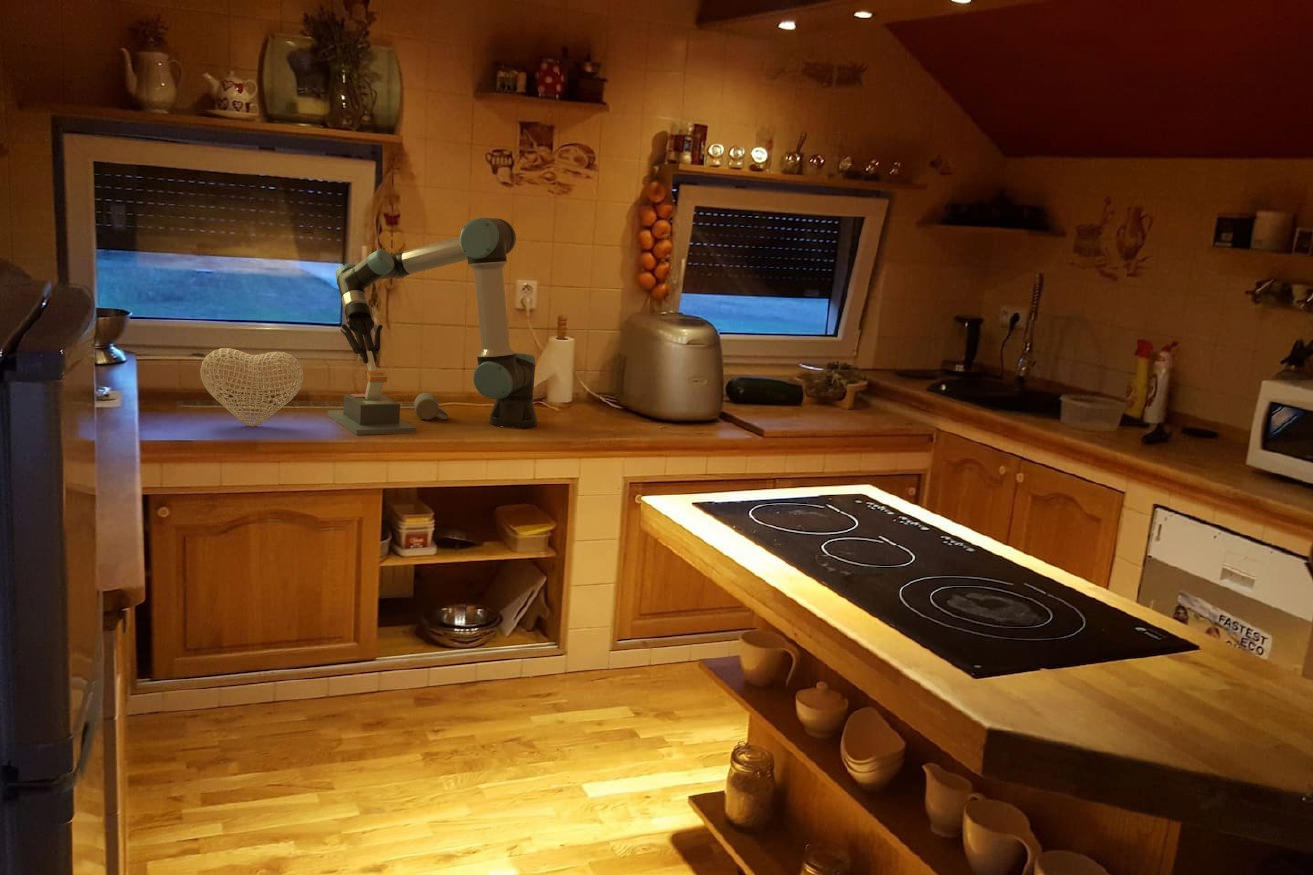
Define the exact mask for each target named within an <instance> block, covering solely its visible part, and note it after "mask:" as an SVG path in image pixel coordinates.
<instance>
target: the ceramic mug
mask: <svg viewBox="0 0 1313 875" xmlns="http://www.w3.org/2000/svg"><path fill="white" fill-rule="evenodd" d="M413 404H414V405H413V406H414V409H415V413H416V416H417V417H418V418H419V419H421V420H423V419H425V420H424V421H430V420H433V419H434V418H435V417H437V418H439V419H441V420H444V419H446V420H448V418H449V413H447V412H446V411H444V410H443V409H441V408H440V407H439V406H440V404H439V400H438V398H437V397H436V396H435V395H434V394H432V393H431V392H430V393H429V392H423V393H419V394H418V395H417V396H416V398H415V399H414V402H413Z"/></svg>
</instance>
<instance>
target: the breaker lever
mask: <svg viewBox="0 0 1313 875" xmlns="http://www.w3.org/2000/svg"><path fill="white" fill-rule="evenodd" d="M388 377H389V376H388V375H387V372H386V370H376V371H368V370H367V374H366V378H367V384H366V390H365V393H364V394H365V397H366V399H367V400H378V399H380V396H381V394H382V390H383V386H384V383H387V382H388Z"/></svg>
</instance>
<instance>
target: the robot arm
mask: <svg viewBox="0 0 1313 875" xmlns="http://www.w3.org/2000/svg"><path fill="white" fill-rule="evenodd" d="M516 236H517V235H516V231H515V229H514V227H513V225H512V224H510V223H509V221H506V220H504V219H502V218H491V217H479V218H474V219H471V220H469V221H468V222H467V223H465V224H464V226H463V227H462V228H461V231H460V233H459V236H457V237H453V238H449V239H445V240H441V241H437V242H434V243H431V244H427V245H423V246H419V247H415V248H413V249H408V250H404V251H400V252H396V253H392V254H390V253H389V252H388V251H386V250H384V249H381V248H380V249H377V250H375V251H374V252H371V253H370V254H368V255H367V256H366V257H365V258H364V259H362V260H361V261H359V262H358V263H357V264H354V263H345V264H344V265H340V266H338V267H337V269H336V270H335V280H336V285H337V288H338V292H339V295H340V298H341V303H342V306H343V311H344V315H345V319H346V323H343V324H342V325H341V326H340V329H339V331H340V332H341V333H342V334H343V335H344V337H345V338H346V339H347V341H348V344H349V345H350V348H351V350H352V352H354V354H355V355H358V354H359V356H360V358H362V362H363V364H366V366H367V372H368V371H377V365H376V363H377V355H378V354H379V352H380V350H381V335H382V334H381V331H382V329H383V325H382V324H379V325H378V324H376V323H375V321H374V319H373V318H372V313H371V310H370V306H369V302H368V299H367V295H366V290H365V289H366V288H368V287H370V286H372V285H373V284H374V283H376V282H377V281H379V280H387V279H388V280H389V279H402V278H404V277H407V276H410V275H413V274H417V273H420V272H421V273H422V272H425V271H429V270H432V269H436V268H440V267H444V266H447V265H451V264H455V263H459V262H464V261H467V264H468V267H470V268H471V269H472V270H473V273H474V274H473V275H474V286H475V294H476V295H475V298H476V305H477V306H476V307H477V315H478V316H477V318H478V330H479V338H480V339H479V340H480V347H481V348H480V351H479V352H478V353H477V356H476V358H477V359H476V360H477V367H476V369H475V370H474V372H473V377H472V378H473V385H474V388H475V389H476V390H477V392H478V393H479V394H481V396H482V397H485V398H487V399H490V400H495V401H494V404H493V406H492V409H491V412H490V414H489V421H488V422H489V424H491V425H493V424H495V425H494V426H496V425H499V426H498V427H500V426H503V427H502V428H507V427H514V428H513V429H525V428H524V427H530V428H533V427H532V426H534V427H536V426H537V425H536V424H538V416H537V412H536V410H535V404H534V388H535V387H534V386H535V385H534V384H535V376H536V373H535V372H536V371H535V370H536V367H537V366H536V357H535V356H534V355H533V354H530V353H529V354H528V353H521V352H515V350H513V349H512V348H511V347H510V338H509V336H510V335H509V326H508V324H509V323H508V315H507V314H508V313H507V305H506V304H507V302H506V294H505V292H506V291H505V281H504V272H503V268H504V266H505V265H506V264H508V263H507V262H508V260H507V255H508V254H509V253H511V252H512V251H513V249H514V248H515V245H516V242H517V238H516ZM372 330H373V331H374V332H373V333H374V340H373V337H372V334H371V332H372ZM353 333H354V334H353ZM373 341H374V342H373ZM535 425H536V426H535Z"/></svg>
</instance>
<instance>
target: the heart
mask: <svg viewBox="0 0 1313 875" xmlns="http://www.w3.org/2000/svg"><path fill="white" fill-rule="evenodd" d="M231 357H232V358H231ZM236 358H237V359H236ZM218 359H220V360H219V361H217V360H218ZM280 360H281V361H280ZM246 361H247V362H246ZM264 363H265V364H264ZM269 363H270V364H269ZM217 364H218V365H217ZM259 364H260V365H259ZM200 365H201V366H200V369H199V372H200V373H199V374H200V379H201V382H202V384H203V386H204V388H205V389H206V391H207V392H208V394H210V395H211V396H212V397H213V398H214V399H215V400H216V402H218V403H219V404H220V405H222V406H223V407H224V408H225V409H226V410H227V411H228V412H230V413H231V415H232V416H234V417H235V419H237V420H238V421H240V422H241V423H242V424H244V425H246V426H247V427H252V428H253V427H258V426H259V425H262V424H263V423H264V422H265V421H267V420H268V419H269V418H271V417H272V416H274V414H276V413H278V411H279V410H281V409H282V408H283V407H285V406H286V405H287V404H288V403H289V402H291V401H292V400H293V399H294V397H296V396H297V394H298V392H299V391H300V390H301V387H302V385H303V382H304V372H303V371H304V370H303V367H302V365H301V363H300V361H299V360H298V359H297V358H296V357H294V356H293V354H290V353H287V352H285V351H270V352H264V353H260V354H249V353H247V352H244V351H242V350H238V349H234V348H232V347H231V348H230V347H221V348H219V349H214V350H212V351H211V352H210V353H208V354H207V355H206V356H205V357H204V358H203V360H202V361H201V364H200ZM246 365H247V366H246ZM283 366H284V367H283ZM269 367H270V369H269ZM274 367H275V368H274ZM219 370H220V371H219ZM230 372H231V373H230ZM235 373H236V374H235ZM217 376H218V378H216V377H217ZM289 376H290V377H291V378H290V377H289ZM244 377H245V378H244ZM285 377H286V379H285ZM228 379H229V380H228ZM272 379H273V381H272ZM233 380H234V382H233ZM238 381H240V383H239V382H238ZM290 381H291V382H290ZM243 382H245V383H243ZM226 383H228V385H227V384H226ZM248 383H250V384H248ZM280 383H281V384H280ZM285 383H286V384H285ZM231 385H233V387H231ZM236 386H238V388H236ZM259 386H260V387H259ZM273 386H274V387H273ZM220 388H221V389H220ZM242 388H244V389H242ZM248 388H249V389H248ZM227 389H228V391H227ZM276 390H277V391H276ZM265 391H266V392H265ZM271 391H272V392H271ZM242 393H243V394H242ZM285 393H286V394H285ZM230 395H231V396H232V397H230ZM277 395H278V396H277ZM273 396H274V397H273ZM270 401H272V403H270ZM274 404H276V405H274ZM237 405H238V406H237ZM252 410H253V411H252ZM256 410H258V411H256Z"/></svg>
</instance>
